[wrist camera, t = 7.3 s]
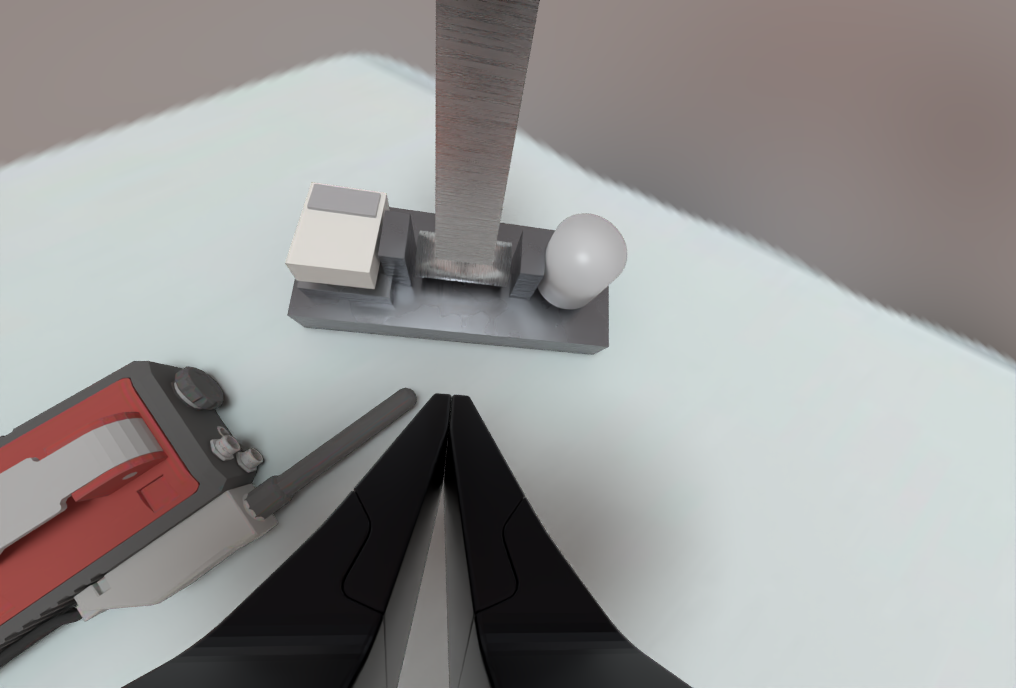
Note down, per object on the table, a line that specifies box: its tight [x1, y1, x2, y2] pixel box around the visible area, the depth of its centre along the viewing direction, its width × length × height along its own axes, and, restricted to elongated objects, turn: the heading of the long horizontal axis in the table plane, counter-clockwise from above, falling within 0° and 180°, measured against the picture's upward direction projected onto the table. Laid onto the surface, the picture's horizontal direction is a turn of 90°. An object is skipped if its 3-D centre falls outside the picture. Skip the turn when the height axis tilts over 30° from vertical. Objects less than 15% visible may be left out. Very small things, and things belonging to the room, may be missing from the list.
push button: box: [537, 213, 627, 309], centre depth 16 cm, size 3×3×3 cm
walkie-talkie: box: [0, 361, 417, 667], centre depth 14 cm, size 9×4×20 cm
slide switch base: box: [288, 207, 609, 354], centre depth 17 cm, size 6×15×5 cm, turn 86°
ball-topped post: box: [416, 0, 540, 287], centre depth 12 cm, size 3×4×13 cm
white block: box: [285, 182, 390, 289], centre depth 15 cm, size 4×3×1 cm
